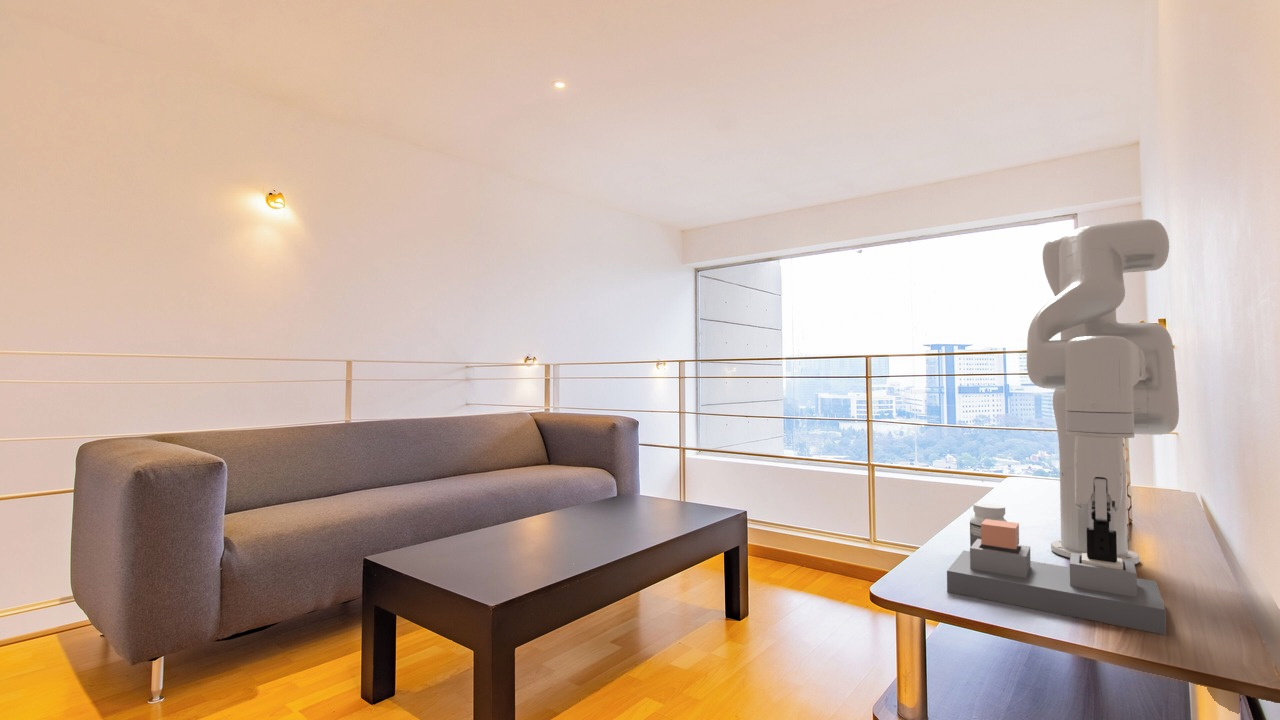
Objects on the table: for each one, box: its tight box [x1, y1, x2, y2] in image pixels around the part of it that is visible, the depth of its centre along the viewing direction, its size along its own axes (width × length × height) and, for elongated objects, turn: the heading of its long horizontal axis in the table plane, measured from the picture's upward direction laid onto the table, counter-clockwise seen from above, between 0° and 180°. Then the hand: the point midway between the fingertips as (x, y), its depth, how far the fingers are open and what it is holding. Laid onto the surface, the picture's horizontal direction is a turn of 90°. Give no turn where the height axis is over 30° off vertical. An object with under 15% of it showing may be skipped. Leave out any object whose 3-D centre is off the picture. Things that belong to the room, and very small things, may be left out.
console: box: [946, 539, 1167, 636], centre depth 85 cm, size 14×24×6 cm, turn 53°
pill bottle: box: [969, 502, 1008, 548], centre depth 101 cm, size 6×6×10 cm
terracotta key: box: [981, 519, 1020, 549], centre depth 89 cm, size 4×4×3 cm
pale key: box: [1082, 553, 1123, 570], centre depth 81 cm, size 4×4×3 cm
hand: (1101, 559), depth 81 cm, fingers closed
